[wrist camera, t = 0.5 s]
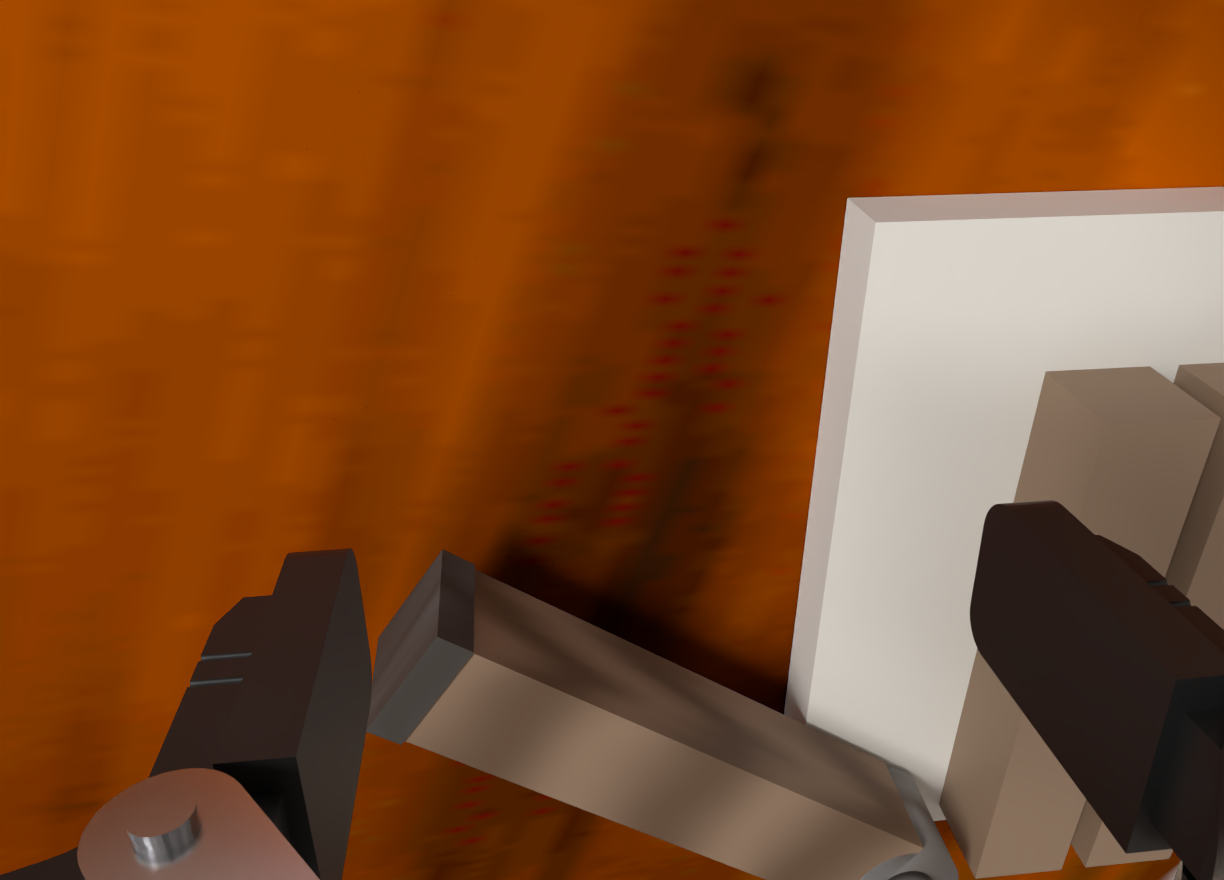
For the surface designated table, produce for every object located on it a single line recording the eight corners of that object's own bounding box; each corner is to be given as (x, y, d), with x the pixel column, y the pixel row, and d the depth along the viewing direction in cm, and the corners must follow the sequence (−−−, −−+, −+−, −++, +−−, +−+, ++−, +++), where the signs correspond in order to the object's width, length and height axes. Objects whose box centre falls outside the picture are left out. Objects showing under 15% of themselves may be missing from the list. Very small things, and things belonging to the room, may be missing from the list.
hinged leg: (378, 637, 33) (363, 743, 29) (442, 549, 31) (436, 648, 27) (868, 844, 41) (911, 949, 37) (937, 783, 40) (989, 885, 36)
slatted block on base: (847, 197, 30) (923, 264, 25) (1413, 180, 32) (1595, 239, 27) (775, 786, 43) (815, 911, 38) (1180, 749, 45) (1272, 863, 39)
